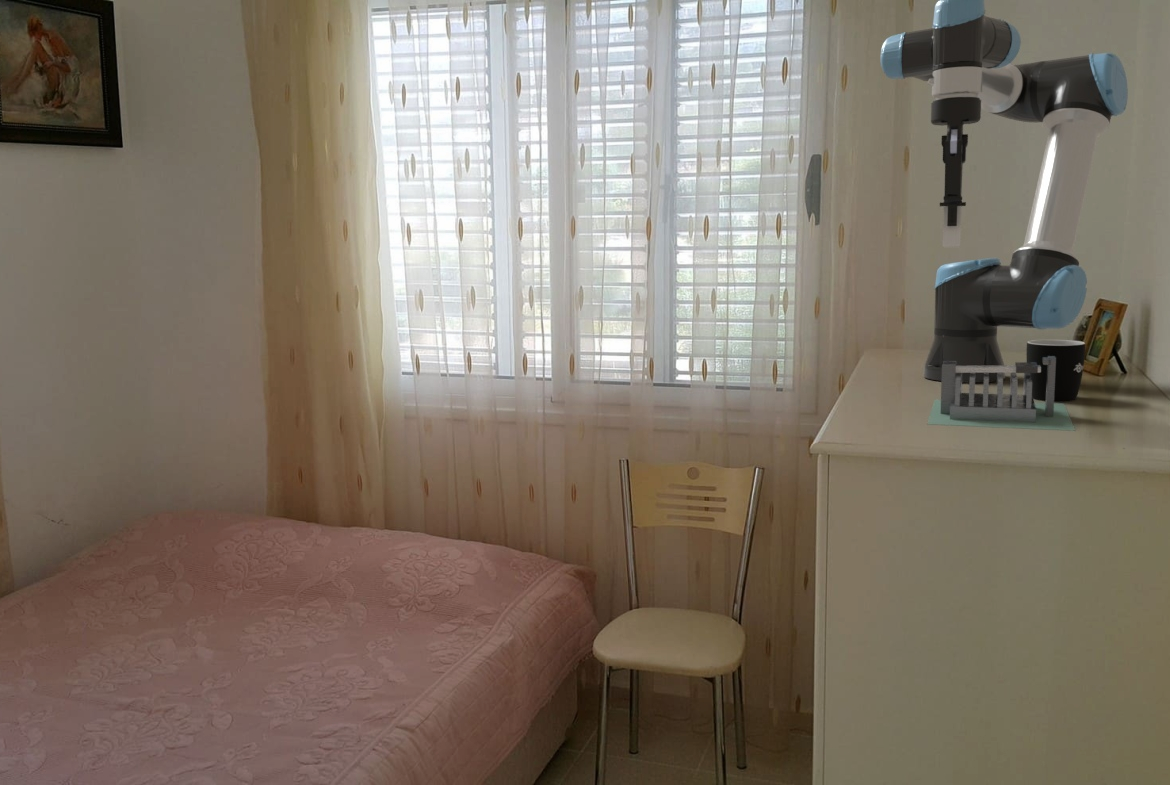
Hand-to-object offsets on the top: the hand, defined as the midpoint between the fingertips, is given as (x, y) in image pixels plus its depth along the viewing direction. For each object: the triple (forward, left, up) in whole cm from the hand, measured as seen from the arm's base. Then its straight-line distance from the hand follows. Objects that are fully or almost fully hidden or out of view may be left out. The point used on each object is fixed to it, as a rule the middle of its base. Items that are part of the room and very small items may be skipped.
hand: (951, 246), depth 166 cm
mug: (-10, +17, -27) cm, 33 cm away
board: (+9, +8, -26) cm, 29 cm away
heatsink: (+9, +7, -26) cm, 28 cm away
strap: (+9, +7, -19) cm, 22 cm away
